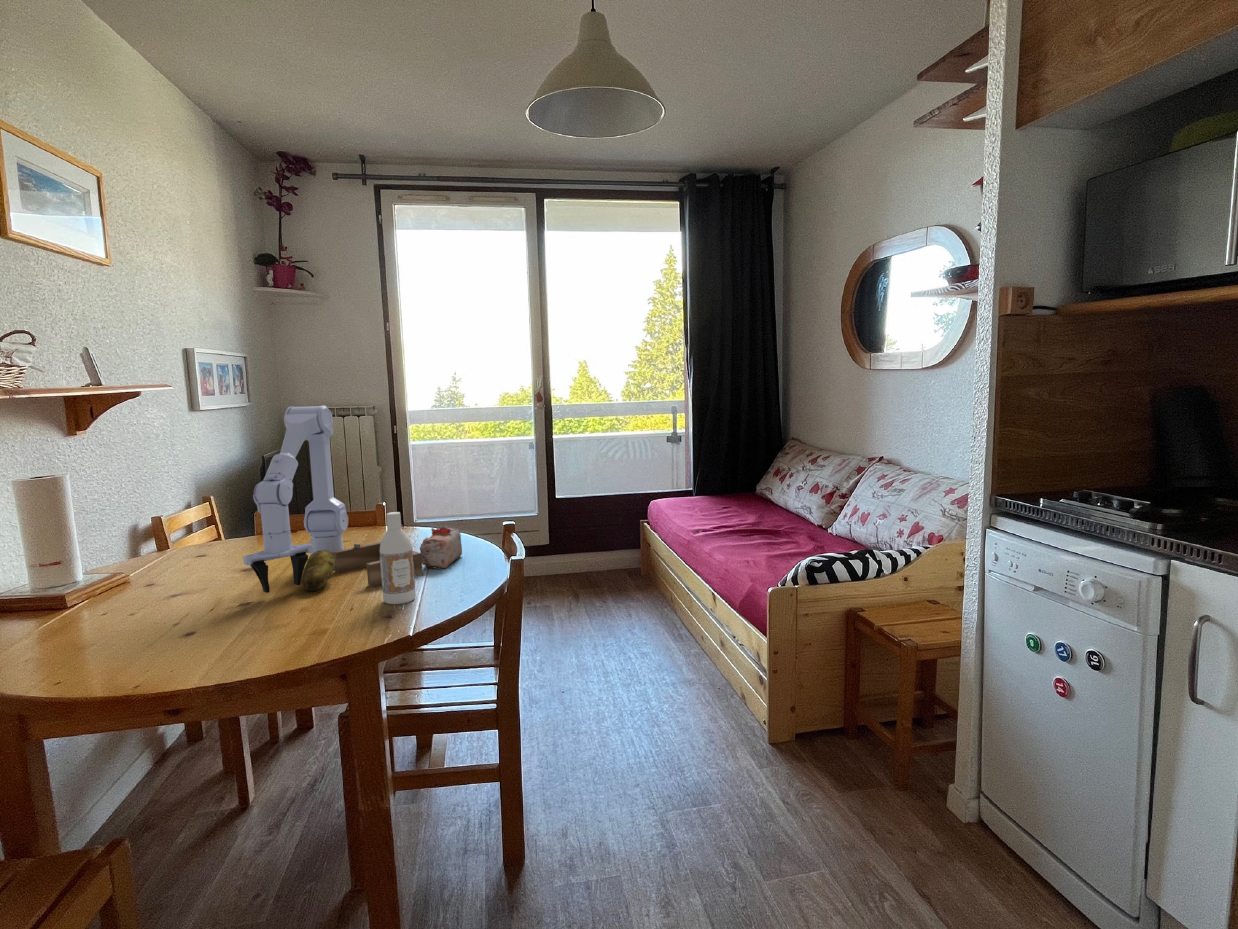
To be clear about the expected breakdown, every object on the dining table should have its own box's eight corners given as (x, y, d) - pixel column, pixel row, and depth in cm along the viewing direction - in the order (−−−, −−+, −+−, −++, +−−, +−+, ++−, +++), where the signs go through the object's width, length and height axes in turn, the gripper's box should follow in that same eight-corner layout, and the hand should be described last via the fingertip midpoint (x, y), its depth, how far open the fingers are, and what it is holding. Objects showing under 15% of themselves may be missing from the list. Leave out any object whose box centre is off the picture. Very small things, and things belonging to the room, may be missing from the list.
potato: (287, 593, 153) (284, 561, 152) (318, 577, 165) (315, 547, 164) (320, 594, 152) (317, 561, 151) (348, 578, 164) (346, 547, 163)
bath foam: (387, 607, 141) (380, 517, 139) (380, 599, 147) (373, 512, 144) (419, 600, 145) (413, 513, 142) (410, 593, 151) (404, 508, 148)
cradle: (335, 571, 170) (332, 547, 170) (383, 560, 180) (381, 537, 179) (372, 587, 156) (369, 560, 155) (422, 574, 166) (420, 549, 165)
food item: (448, 570, 169) (445, 533, 168) (418, 570, 170) (416, 533, 169) (464, 556, 183) (462, 522, 181) (437, 556, 183) (435, 522, 182)
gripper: (248, 540, 142) (254, 599, 144) (315, 528, 153) (320, 583, 155) (237, 535, 147) (244, 593, 149) (304, 524, 158) (308, 578, 159)
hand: (282, 588), depth 152 cm, fingers open, 6 cm apart
